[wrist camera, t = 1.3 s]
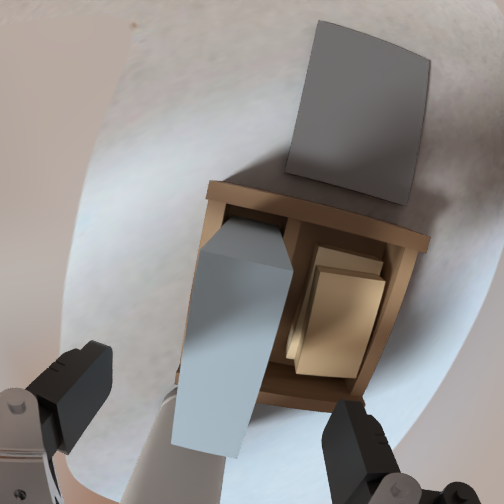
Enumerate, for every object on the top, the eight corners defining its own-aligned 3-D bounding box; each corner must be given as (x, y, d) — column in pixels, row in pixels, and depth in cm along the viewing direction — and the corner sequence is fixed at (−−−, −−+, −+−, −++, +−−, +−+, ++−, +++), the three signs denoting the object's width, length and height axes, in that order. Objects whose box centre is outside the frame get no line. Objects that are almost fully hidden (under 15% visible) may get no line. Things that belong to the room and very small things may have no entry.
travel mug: (245, 399, 25) (223, 628, 5) (216, 443, 26) (182, 628, 7) (176, 370, 24) (85, 591, 5) (155, 418, 26) (81, 597, 6)
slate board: (232, 215, 21) (199, 250, 10) (278, 225, 21) (293, 271, 10) (208, 336, 23) (171, 443, 12) (248, 345, 23) (237, 458, 12)
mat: (317, 23, 18) (318, 20, 18) (426, 62, 18) (429, 60, 18) (284, 172, 21) (285, 172, 20) (403, 205, 21) (406, 206, 20)
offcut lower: (314, 241, 21) (318, 246, 19) (375, 256, 21) (383, 262, 19) (284, 346, 22) (286, 358, 21) (341, 356, 23) (345, 367, 21)
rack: (221, 181, 21) (209, 180, 16) (398, 225, 21) (430, 237, 16) (190, 348, 24) (174, 384, 19) (345, 377, 24) (360, 415, 19)
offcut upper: (315, 264, 19) (320, 271, 18) (377, 274, 19) (385, 281, 18) (294, 361, 21) (295, 373, 19) (350, 366, 21) (355, 378, 19)
